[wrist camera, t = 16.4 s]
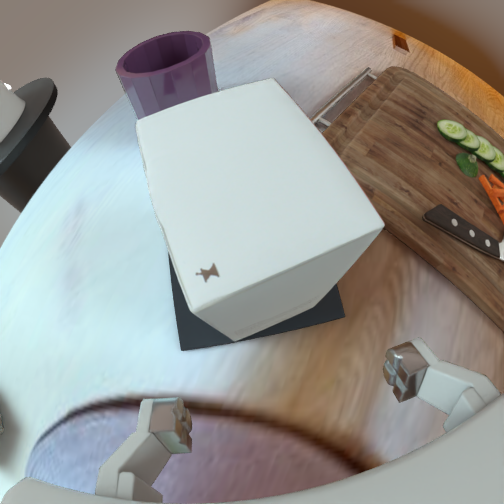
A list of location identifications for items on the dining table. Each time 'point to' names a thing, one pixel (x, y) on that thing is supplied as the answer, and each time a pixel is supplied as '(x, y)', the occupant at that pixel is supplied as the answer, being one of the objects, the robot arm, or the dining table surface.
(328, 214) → the small box
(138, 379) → the dining table surface
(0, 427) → the egg carton
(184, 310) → the coaster pad
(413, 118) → the chopping board
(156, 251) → the dining table surface
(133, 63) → the plum cup
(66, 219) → the dining table surface
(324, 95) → the dining table surface
